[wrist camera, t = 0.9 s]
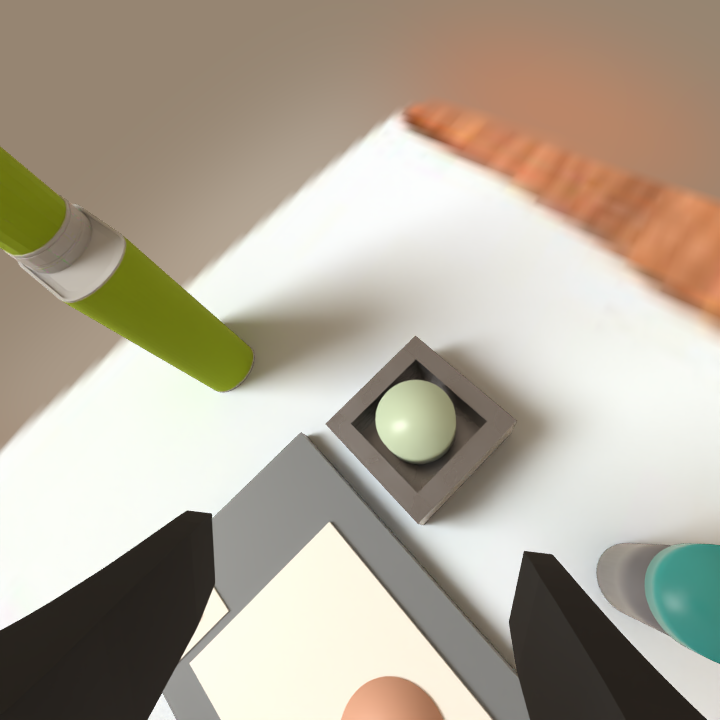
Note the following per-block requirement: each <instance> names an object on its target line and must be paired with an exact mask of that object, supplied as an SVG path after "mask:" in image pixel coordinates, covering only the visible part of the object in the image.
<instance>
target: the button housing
mask: <svg viewBox="0 0 720 720" xmlns="http://www.w3.org/2000/svg"><path fill="white" fill-rule="evenodd" d="M409 380H423V381H427V382H430V383H433V384H435V385H437V386H438V387H440V388H441V389H442V390H443V391H444V392H445V393H446V394H447V395H448V396H449V398H450V399H451V401H452V403H453V406H454V409H455V415H456V436H455V439H454V442H453V444H452V446H451V447H450V449H449V450H448V451H447V453H446V454H444V455H443V456H442V457H441V458H439V459H438V460H436V461H434V462H431V463H427V464H412V463H408V462H405V461H403V460H401V459H399V458H398V457H396V456H395V455H394V454H393V453H392V452H391V451H390V450H389V449H388V447H387V446H386V445H385V444H384V443H383V441H382V440H381V438H380V436H379V434H378V432H377V428H376V420H375V418H376V411H377V407H378V404H379V402H380V400H381V399H382V397H383V396H384V395H385V393H386V392H387V391H388V390H390V389H391V388H392V387H394V386H395V385H397V384H399V383H401V382H404V381H409ZM516 421H517V420H515V419H514V418H513V417H512V416H511V415H509V414H508V413H507V412H506V411H505V410H503V409H502V408H501V407H500V406H499V405H498V404H496V403H495V402H494V401H493V400H492V399H490V398H489V397H488V396H487V395H486V394H484V393H483V392H482V391H481V390H480V389H478V388H477V387H476V386H475V385H474V384H472V383H471V382H470V381H469V380H468V379H467V378H465V377H464V376H463V375H462V374H461V373H459V372H458V371H457V370H456V369H455V368H453V367H452V366H451V365H450V364H449V363H447V362H446V361H445V360H444V359H443V358H441V357H440V356H439V355H438V354H437V353H436V352H434V351H433V350H432V349H431V348H430V347H428V346H427V345H426V344H425V343H424V342H422V341H421V340H420V339H419V338H418V337H416V336H415V337H414V338H413V339H412V340H411V341H410V342H409V343H408V344H407V345H406V346H405V347H404V348H403V349H402V350H401V351H400V352H398V353H397V354H396V355H395V356H394V357H393V358H392V359H391V360H390V361H389V362H388V363H387V364H386V365H385V366H384V367H383V368H382V369H381V370H380V371H379V372H378V373H377V374H376V375H375V376H374V377H373V378H372V379H371V380H370V381H369V382H368V383H367V384H366V385H365V386H364V387H363V388H362V389H361V390H360V391H359V392H358V393H357V394H356V395H355V396H354V397H353V398H351V399H350V400H349V401H348V402H347V403H346V404H345V405H344V406H343V407H342V408H341V409H340V410H339V411H338V412H337V413H336V414H335V415H334V416H333V417H332V418H331V419H330V420H329V421H328V422H327V423H326V425H327V426H328V427H329V428H330V429H331V430H332V432H333V433H334V434H335V435H336V436H337V437H338V438H339V439H340V440H341V441H342V442H343V443H344V444H345V446H346V447H347V448H348V449H349V450H350V451H351V452H352V453H353V454H354V455H355V456H356V457H357V459H358V460H359V461H360V462H361V463H362V464H363V465H364V466H365V467H366V468H367V469H368V470H369V471H370V473H371V474H372V475H373V476H374V477H375V478H376V479H377V480H378V481H379V482H380V483H381V484H382V486H383V487H384V488H385V489H386V490H387V491H388V492H389V493H390V494H391V495H392V496H393V497H394V498H395V500H396V501H397V502H398V503H399V504H400V505H401V506H402V507H403V508H404V509H405V510H406V511H407V512H408V514H409V515H410V516H411V517H412V518H413V519H414V520H415V521H416V522H417V523H418V524H420V525H424V524H425V523H426V522H427V521H428V520H429V519H430V518H431V517H432V516H433V515H434V513H435V512H436V511H437V510H438V509H439V508H440V507H441V506H442V505H443V504H444V503H445V502H446V501H447V500H448V499H449V498H450V497H451V496H452V495H453V494H454V493H455V491H456V490H457V489H458V488H459V487H460V486H461V485H462V484H463V483H464V482H465V481H466V480H467V479H468V478H469V477H470V476H471V475H472V474H473V473H474V472H475V470H476V469H477V468H478V467H479V466H480V465H481V464H482V463H483V462H484V461H485V460H486V459H487V458H488V457H489V456H490V455H491V454H492V453H493V452H494V451H495V450H496V448H497V447H498V446H499V445H500V444H501V443H502V442H503V441H504V440H505V439H506V438H507V437H508V436H509V435H510V434H511V432H512V430H513V428H514V426H515V424H516Z"/></svg>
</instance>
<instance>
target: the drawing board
mask: <svg viewBox="0 0 720 720" xmlns="http://www.w3.org/2000/svg"><path fill="white" fill-rule="evenodd" d="M212 527H213V546H214V566H215V585H214V588H213V590H212V593H211V595H210V598H209V600H208V603H207V606H206V608H205V610H204V613H203V615H202V617H201V620H200V622H199V625H198V627H197V629H196V631H195V633H194V635H193V637H192V639H191V640H190V642H189V644H188V646H187V648H186V650H185V652H184V653H183V655H182V657H181V659H180V661H179V663H178V665H177V666H176V668H175V670H174V672H173V674H172V676H171V677H170V679H169V681H168V683H167V685H166V687H165V688H164V690H163V692H162V693H163V695H164V697H165V699H166V700H167V702H168V704H169V706H170V708H171V710H172V712H173V714H174V716H175V718H176V720H530V718H529V715H528V711H527V707H526V704H525V700H524V696H523V693H522V689H521V685H520V681H519V678H518V674H517V673H516V672H515V670H514V669H513V668H512V667H511V666H510V665H509V664H508V663H507V661H506V660H505V659H504V658H503V657H502V656H501V655H500V654H499V652H498V651H497V650H496V649H495V648H494V647H493V646H492V644H491V643H490V642H489V641H488V640H487V639H486V638H485V637H484V635H483V634H482V633H481V632H480V631H479V630H478V629H477V628H476V626H475V625H474V624H473V623H472V622H471V621H470V620H469V619H468V617H467V616H466V615H465V614H464V613H463V612H462V611H461V610H460V608H459V607H458V606H457V605H456V604H455V603H454V602H453V600H452V599H451V598H450V597H449V596H448V595H447V594H446V593H445V591H444V590H443V589H442V588H441V587H440V586H439V585H438V584H437V582H436V581H435V580H434V579H433V578H432V577H431V576H430V575H429V573H428V572H427V571H426V570H425V569H424V568H423V567H422V566H421V564H420V563H419V562H418V561H417V560H416V559H415V558H414V557H413V555H412V554H411V553H410V552H409V551H408V550H407V549H406V547H405V546H404V545H403V544H402V543H401V542H400V541H399V540H398V538H397V537H396V536H395V535H394V534H393V533H392V532H391V531H390V529H389V528H388V527H387V526H386V525H385V524H384V523H383V522H382V520H381V519H380V518H379V517H378V516H377V515H376V514H375V513H374V511H373V510H372V509H371V508H370V507H369V506H368V505H367V503H366V502H365V501H364V500H363V499H362V498H361V497H360V496H359V494H358V493H357V492H356V491H355V490H354V489H353V488H352V487H351V485H350V484H349V483H348V482H347V481H346V480H345V479H344V478H343V476H342V475H341V474H340V473H339V472H338V471H337V470H336V469H335V467H334V466H333V465H332V464H331V463H330V462H329V461H328V460H327V458H326V457H325V456H324V455H323V454H322V453H321V452H320V450H319V449H318V448H317V447H316V446H315V445H314V444H313V443H312V441H311V440H310V439H309V438H308V437H307V436H306V435H305V434H303V433H300V434H299V435H298V436H297V437H296V438H294V439H293V440H292V441H291V442H290V443H289V444H288V445H287V446H286V447H285V448H284V449H283V450H282V451H281V452H280V453H279V454H278V455H277V456H276V457H275V458H274V459H273V460H272V461H271V462H270V463H269V464H268V465H267V466H266V467H265V468H264V469H263V470H262V471H261V472H260V473H259V474H258V475H256V476H255V477H254V478H253V479H252V480H251V481H250V482H249V483H248V484H247V485H246V486H245V487H244V488H243V489H242V490H241V491H240V492H239V493H238V494H237V495H236V496H235V497H234V498H233V499H232V500H231V501H230V502H229V503H228V504H227V505H226V506H225V507H224V508H223V509H222V510H221V511H219V512H218V513H217V514H216V515H215V516H214V517H213V518H212Z"/></svg>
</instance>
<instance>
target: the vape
mask: <svg viewBox="0 0 720 720" xmlns="http://www.w3.org/2000/svg"><path fill="white" fill-rule="evenodd" d="M0 248H1V249H3V250H4V251H5V252H6V253H7V254H9V256H11V257H13V258H14V259H16V260H17V261H18V264H19V265H20V267H21V268H23V269H24V270H25V271H26V272H27V273H29V274H30V275H31V276H32V277H33V278H34V279H36V280H37V281H38V282H39V283H40V284H42V285H43V286H44V287H45V288H46V289H48V290H49V291H50V292H51V293H52V294H54V295H55V296H56V297H57V298H58V299H60V300H61V301H63V302H64V303H66V304H68V305H69V306H71V307H73V308H75V309H76V310H78V311H80V312H82V313H83V314H85V315H87V316H89V317H90V318H92V319H94V320H96V321H97V322H99V323H100V324H102V325H104V326H106V327H107V328H109V329H111V330H113V331H114V332H116V333H118V334H119V335H121V336H123V337H124V338H126V339H128V340H130V341H131V342H133V343H135V344H137V345H138V346H140V347H142V348H143V349H145V350H147V351H149V352H150V353H152V354H154V355H155V356H157V357H159V358H161V359H162V360H164V361H166V362H167V363H169V364H171V365H173V366H174V367H176V368H178V369H179V370H181V371H183V372H185V373H186V374H188V375H190V376H192V377H193V378H195V379H197V380H198V381H200V382H202V383H204V384H205V385H207V386H209V387H210V388H212V389H214V390H216V391H218V392H227V391H230V390H232V389H234V388H236V387H237V386H238V385H240V384H241V383H242V382H243V381H244V380H245V378H246V377H247V376H248V374H249V373H250V371H251V369H252V366H253V363H254V352H253V350H252V349H251V348H250V347H249V346H248V345H247V344H246V343H245V342H244V341H242V340H241V339H240V338H239V337H238V336H237V335H236V334H234V333H233V332H232V331H231V330H230V329H229V328H228V327H227V326H225V325H224V324H223V323H222V322H221V321H220V320H219V319H217V318H216V317H215V316H214V315H213V314H212V313H211V312H209V311H208V310H207V309H206V308H205V307H204V306H203V305H201V304H200V303H199V302H198V301H197V300H196V299H195V298H194V297H192V296H191V295H190V294H189V293H188V292H187V291H186V290H184V289H183V288H182V287H181V286H180V285H179V284H178V283H176V282H175V281H174V280H173V279H172V278H171V277H169V276H168V275H167V274H166V273H165V272H164V271H163V270H162V269H161V268H159V267H158V266H157V265H156V264H155V263H154V262H153V261H151V260H150V259H149V258H148V257H147V256H146V255H145V254H143V253H142V252H141V251H140V250H139V249H138V248H137V247H135V246H134V245H133V244H132V243H131V242H130V241H129V240H128V239H126V238H125V237H124V236H123V235H122V234H120V233H119V232H117V231H116V230H115V229H113V228H112V227H110V226H109V225H107V224H106V223H104V222H103V221H101V220H100V219H98V218H97V217H96V216H94V215H92V214H91V213H90V212H88V211H87V210H85V209H84V208H82V207H80V206H79V205H77V204H71V203H70V202H69V201H67V200H66V199H65V198H63V197H62V196H60V195H58V194H56V193H55V192H54V191H53V190H52V189H50V188H49V187H48V186H47V185H46V184H44V183H43V182H42V181H41V180H39V179H38V178H37V177H36V176H35V175H34V174H32V173H31V172H30V171H29V170H28V169H26V168H25V167H24V166H23V165H22V164H21V163H19V162H18V161H17V160H16V159H14V158H13V157H12V156H11V155H10V154H9V153H7V152H6V151H5V150H4V149H3V148H1V147H0Z"/></svg>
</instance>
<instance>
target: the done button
mask: <svg viewBox="0 0 720 720" xmlns="http://www.w3.org/2000/svg"><path fill="white" fill-rule="evenodd" d="M375 420H376V428H377V432H378V434H379V436H380V438H381V440H382V441H383V443H384V444H385V445H386V446H387V447H388V449H389V450H390V451H391V452H392V453H393V454H394V455H395V456H396V457H398V458H399V459H401V460H403V461H405V462H408V463H412V464H427V463H431V462H434V461H436V460H438V459H439V458H441V457H442V456H443V455H444V454H446V453H447V451H448V450H449V449H450V447H451V446H452V444H453V442H454V439H455V436H456V415H455V409H454V406H453V403H452V401H451V399H450V398H449V396H448V395H447V394H446V393H445V392H444V391H443V390H442V389H441V388H440V387H438V386H437V385H435V384H433V383H430V382H427V381H423V380H409V381H404V382H401V383H399V384H397V385H395V386H394V387H392V388H391V389H390V390H388V391H387V392H386V393H385V395H384V396H383V397H382V399H381V400H380V402H379V404H378V407H377V411H376V418H375Z"/></svg>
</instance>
